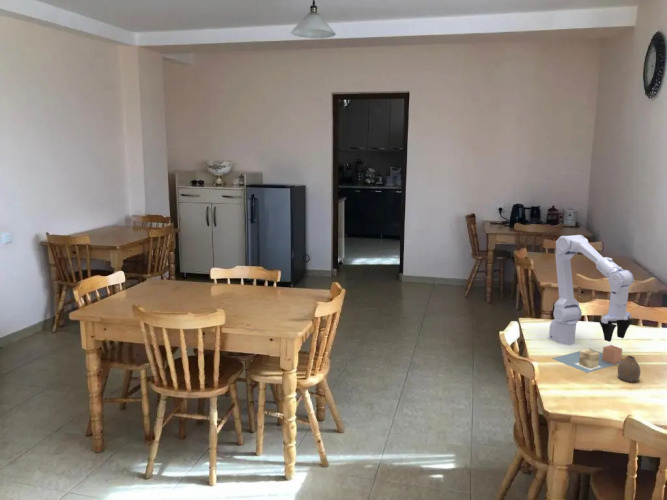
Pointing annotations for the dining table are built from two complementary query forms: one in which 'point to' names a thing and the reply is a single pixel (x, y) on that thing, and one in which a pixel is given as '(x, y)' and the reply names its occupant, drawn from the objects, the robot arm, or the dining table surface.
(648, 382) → the dining table surface
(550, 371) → the dining table surface
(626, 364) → the vase
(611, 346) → the terracotta block
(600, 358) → the build board
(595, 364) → the maple block
